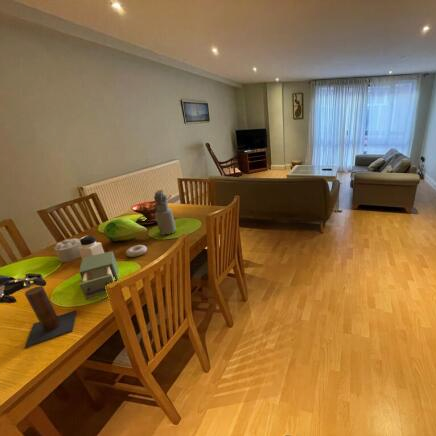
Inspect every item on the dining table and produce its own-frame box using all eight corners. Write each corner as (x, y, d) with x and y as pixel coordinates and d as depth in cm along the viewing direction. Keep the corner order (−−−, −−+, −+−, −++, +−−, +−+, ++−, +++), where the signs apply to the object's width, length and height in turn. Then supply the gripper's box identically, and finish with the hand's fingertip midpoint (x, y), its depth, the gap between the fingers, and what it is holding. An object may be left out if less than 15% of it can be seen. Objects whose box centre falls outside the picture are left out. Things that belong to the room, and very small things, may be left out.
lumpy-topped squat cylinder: (87, 248, 139) (82, 235, 136) (79, 259, 128) (73, 245, 125) (65, 252, 136) (59, 238, 132) (54, 263, 124) (47, 249, 121)
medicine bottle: (105, 253, 134) (98, 234, 130) (94, 260, 128) (87, 240, 123) (93, 253, 135) (85, 233, 130) (81, 259, 128) (74, 240, 123)
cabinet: (118, 280, 111) (112, 263, 107) (86, 290, 105) (79, 272, 101) (118, 267, 121) (112, 250, 118) (89, 275, 115) (82, 258, 112)
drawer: (116, 296, 100) (111, 280, 97) (85, 306, 94) (78, 290, 92) (116, 276, 113) (111, 262, 110) (88, 284, 107) (82, 269, 104)
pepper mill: (59, 327, 85) (41, 291, 79) (42, 333, 83) (22, 296, 77) (61, 320, 89) (44, 284, 83) (45, 325, 86) (26, 289, 80)
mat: (72, 331, 85) (72, 330, 84) (25, 348, 78) (24, 347, 78) (76, 310, 94) (76, 309, 93) (34, 324, 87) (33, 323, 87)
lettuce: (150, 234, 161) (143, 248, 149) (111, 231, 155) (100, 245, 142) (149, 215, 155) (142, 228, 142) (109, 211, 148) (97, 224, 135)
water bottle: (174, 234, 156) (165, 193, 145) (158, 236, 153) (148, 194, 143) (177, 228, 165) (169, 189, 154) (161, 230, 162) (152, 190, 152)
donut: (150, 248, 139) (131, 249, 138) (149, 243, 138) (129, 244, 136) (143, 257, 130) (123, 259, 129) (142, 251, 129) (121, 253, 127)
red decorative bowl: (172, 211, 196) (168, 192, 190) (178, 220, 177) (174, 200, 171) (132, 219, 181) (126, 199, 175) (135, 230, 163) (128, 207, 156)
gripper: (-43, 290, 75) (-3, 296, 72) (13, 265, 88) (49, 269, 85) (-31, 308, 78) (8, 315, 75) (22, 281, 91) (57, 286, 88)
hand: (30, 291), depth 80 cm, fingers open, 8 cm apart
